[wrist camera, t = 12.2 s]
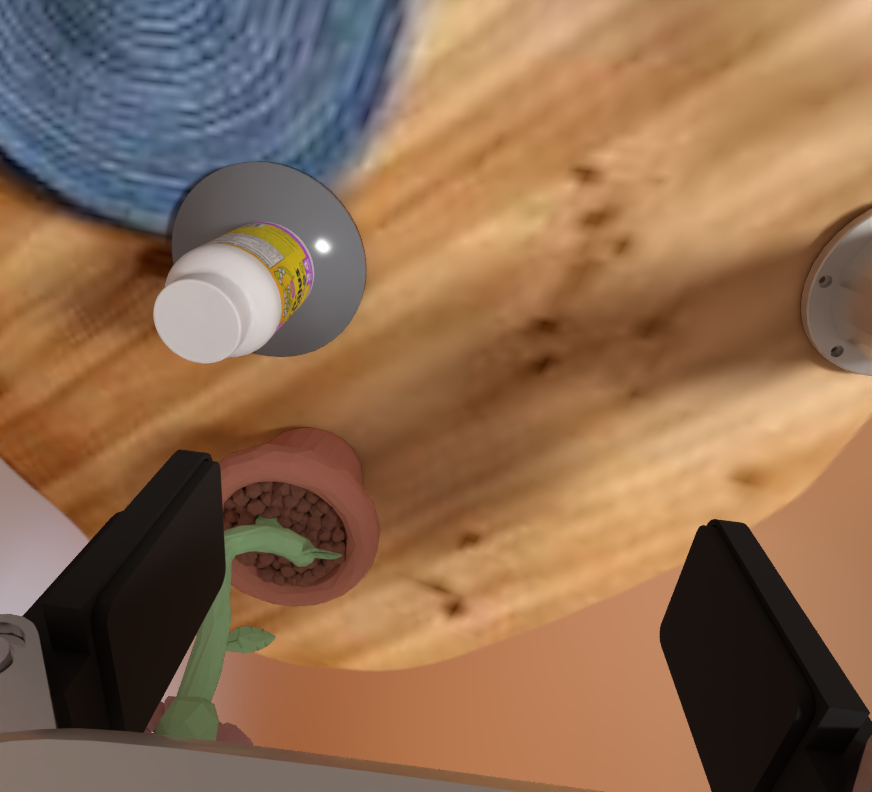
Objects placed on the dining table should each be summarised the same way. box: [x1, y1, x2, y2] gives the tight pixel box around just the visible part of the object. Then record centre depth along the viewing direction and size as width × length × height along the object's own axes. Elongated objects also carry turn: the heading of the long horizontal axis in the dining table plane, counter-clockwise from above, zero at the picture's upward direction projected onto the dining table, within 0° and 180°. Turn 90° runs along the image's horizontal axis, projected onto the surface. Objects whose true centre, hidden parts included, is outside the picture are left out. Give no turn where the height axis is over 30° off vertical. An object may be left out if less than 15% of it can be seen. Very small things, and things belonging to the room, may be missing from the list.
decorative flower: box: [144, 428, 380, 746], centre depth 37 cm, size 15×14×30 cm
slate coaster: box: [172, 161, 366, 357], centre depth 43 cm, size 14×14×1 cm
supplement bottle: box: [153, 222, 314, 363], centre depth 37 cm, size 7×7×13 cm
